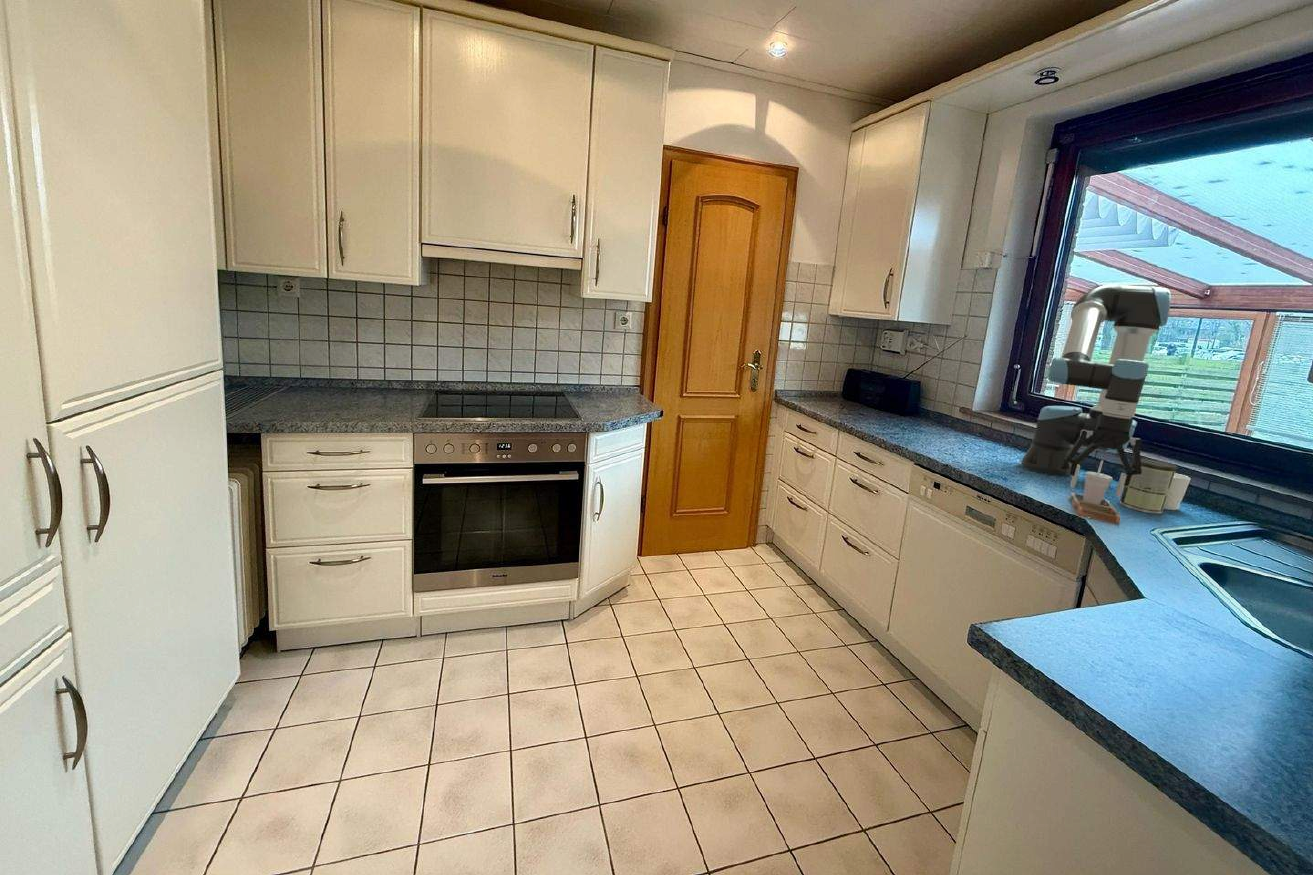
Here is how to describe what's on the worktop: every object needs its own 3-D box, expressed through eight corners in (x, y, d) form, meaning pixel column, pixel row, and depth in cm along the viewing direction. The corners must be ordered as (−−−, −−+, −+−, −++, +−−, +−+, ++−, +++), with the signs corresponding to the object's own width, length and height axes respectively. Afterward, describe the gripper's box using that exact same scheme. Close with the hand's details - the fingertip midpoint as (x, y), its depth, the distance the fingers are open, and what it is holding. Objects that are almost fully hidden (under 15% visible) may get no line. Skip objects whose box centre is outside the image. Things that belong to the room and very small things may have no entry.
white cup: (1186, 510, 174) (1196, 478, 172) (1170, 511, 171) (1180, 479, 169) (1156, 501, 181) (1166, 470, 179) (1140, 502, 178) (1150, 471, 176)
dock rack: (1069, 498, 174) (1070, 492, 173) (1106, 506, 170) (1108, 500, 169) (1077, 515, 158) (1079, 508, 158) (1118, 524, 154) (1121, 517, 154)
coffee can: (1110, 499, 178) (1124, 455, 174) (1146, 503, 177) (1160, 459, 174) (1134, 511, 168) (1148, 464, 164) (1171, 515, 167) (1187, 469, 164)
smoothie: (1071, 503, 170) (1084, 457, 166) (1086, 502, 172) (1099, 457, 169) (1094, 511, 164) (1108, 463, 160) (1108, 510, 166) (1122, 463, 163)
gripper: (1069, 410, 163) (1049, 484, 169) (1172, 425, 153) (1147, 504, 158) (1066, 406, 170) (1047, 479, 175) (1164, 421, 160) (1140, 497, 165)
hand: (1094, 491), depth 167 cm, fingers open, 10 cm apart
